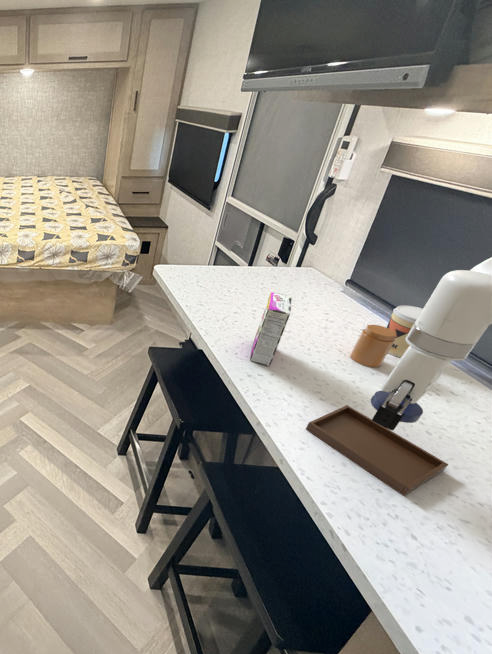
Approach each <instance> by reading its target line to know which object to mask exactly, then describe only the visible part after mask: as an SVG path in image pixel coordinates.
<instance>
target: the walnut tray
mask: <svg viewBox="0 0 492 654" xmlns="http://www.w3.org/2000/svg"><path fill="white" fill-rule="evenodd" d="M305 431H307V432H309V433H311V434H312V435H314V436H315V437H316V438H318V439H319V440H321V441H322V442H324V443H325V444H327V445H328V446H330V447H331V448H333V449H334V450H336V451H337V452H339V453H340V454H342V455H343V456H344V457H346V458H347V459H349V460H351V461H352V462H353V463H354V464H356V465H357V466H359V467H360V468H363V469H364V470H365V471H366V472H368V473H369V474H371V475H373V476H374V477H375V478H377V479H378V480H380V481H381V482H383V483H384V484H386V485H387V486H389V487H390V488H391V489H393V490H395V491H396V492H397V493H398V494H401V496H403V497H405V496H406V495H408V494H409V493H412V492H413V491H415V490H416V489H418V488H419V487H421V486H422V485H424V484H426V483H428V482H429V481H430V480H432V479H433V478H435V477H437V476H438V475H440V474H442V473H443V472H444V471H445V470H446V469H447V468H448V466H449V463H447V462H445V461H444V460H442V459H440V458H438V457H437V456H435V455H434V454H432V453H430V452H428V451H427V450H425V449H423V448H421V447H419V446H418V445H416V444H414V443H413V442H411V441H410V440H407V439H406V438H404V437H402V436H401V435H399V434H397V432H395V431H393V430H389V429H387V428H385V427H383V426H381V425H379V424H377V423H375V422H373V421H372V418H370V417H369V416H367V415H365V414H363V413H362V412H359V411H358V410H356V409H355V408H353V407H351V406H350V405H347V404H346V405H344V406H342V407H340V408H337V409H335V410H333V411H331V412H328V413H326V414H325V415H322V416H320V417H318V418H315V419H314V420H311V421H309V422H308V424H307V426H306V428H305Z"/></svg>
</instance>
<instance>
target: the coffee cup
mask: <svg viewBox="0 0 492 654" xmlns="http://www.w3.org/2000/svg"><path fill="white" fill-rule="evenodd" d="M422 310H423V308H422V307H419V306H415V305H399V306H396V307H395V308H393V311H392V314H391V316H390V319H389V321H388V323H387V325H386V326H385V327H386V328H388V329H391V330H392V331H394V332H395V333H396V337H395V342H394V343H393V345H392V347H391V349H390V350H389V352H388V355H392V356H394V357H396V358H400V359H401V357H402V356H403V354H404V353H405V351H406V350H407V349H408V347H409V346H410V345H409V344H408V343H407V342H406V340H405V339H406V337H407V335H408V333H409V332H410V330H411V328H412V327H413V325H414V323H415V322H416V320H417V318H418V317H419V315H420V313H421V312H422Z"/></svg>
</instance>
